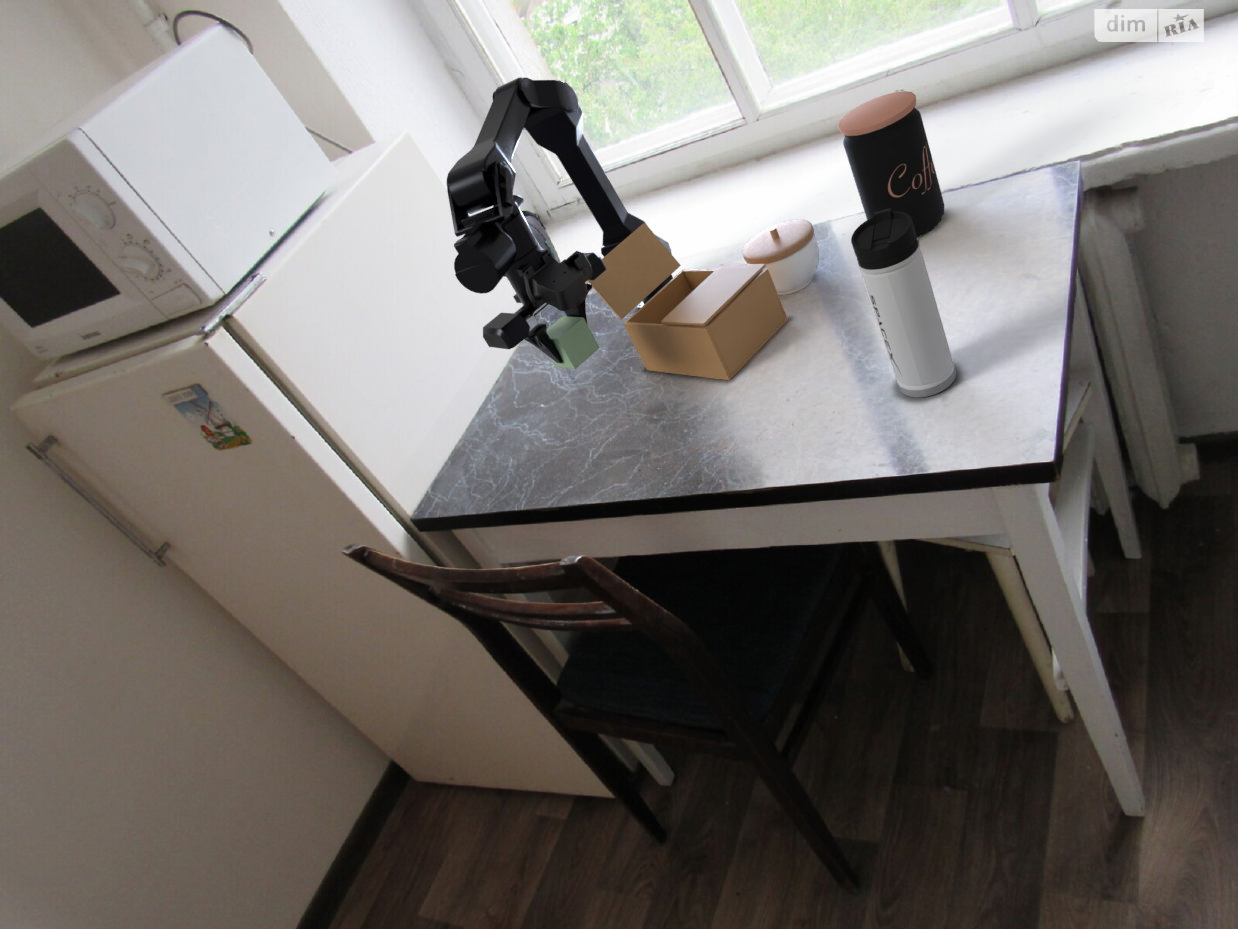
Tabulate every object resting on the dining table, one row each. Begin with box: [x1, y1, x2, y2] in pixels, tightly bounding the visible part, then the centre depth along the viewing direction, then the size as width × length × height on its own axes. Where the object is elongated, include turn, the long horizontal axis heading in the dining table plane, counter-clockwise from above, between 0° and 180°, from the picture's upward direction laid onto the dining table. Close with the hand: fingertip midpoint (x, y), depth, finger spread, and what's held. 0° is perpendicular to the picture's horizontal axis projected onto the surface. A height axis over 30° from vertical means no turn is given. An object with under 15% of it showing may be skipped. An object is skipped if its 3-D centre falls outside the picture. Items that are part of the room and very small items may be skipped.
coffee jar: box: [837, 90, 946, 238], centre depth 124 cm, size 11×11×18 cm
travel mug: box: [850, 208, 957, 398], centre depth 93 cm, size 6×7×20 cm
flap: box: [586, 222, 681, 321], centre depth 128 cm, size 8×14×1 cm
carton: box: [623, 263, 789, 381], centre depth 124 cm, size 17×14×9 cm
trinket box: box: [741, 218, 820, 296], centre depth 128 cm, size 11×11×9 cm
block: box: [547, 315, 601, 370], centre depth 119 cm, size 5×5×5 cm
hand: (573, 351), depth 119 cm, fingers closed on block, 5 cm apart
